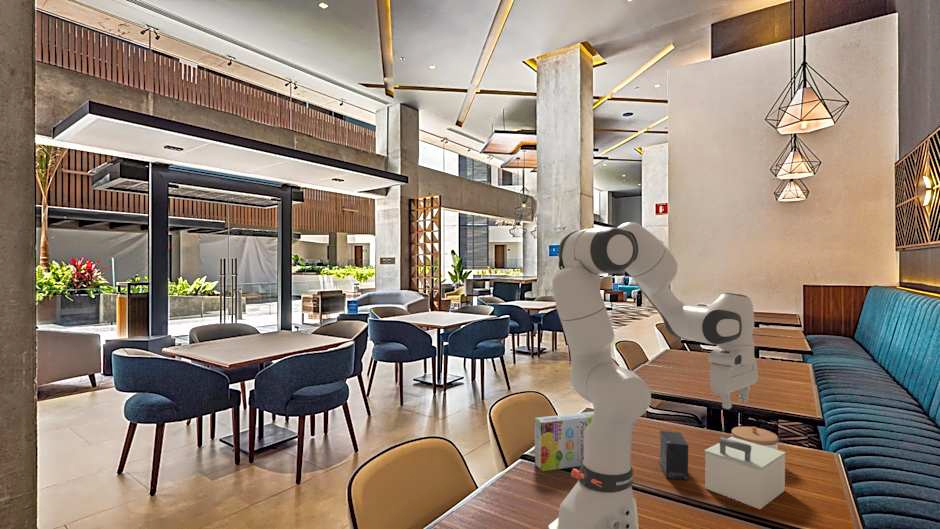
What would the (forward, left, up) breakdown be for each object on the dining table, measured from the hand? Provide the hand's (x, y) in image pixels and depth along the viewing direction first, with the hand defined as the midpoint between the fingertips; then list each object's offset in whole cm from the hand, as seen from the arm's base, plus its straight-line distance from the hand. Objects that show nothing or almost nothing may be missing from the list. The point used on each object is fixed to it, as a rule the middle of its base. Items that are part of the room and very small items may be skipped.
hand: (735, 404), depth 128 cm
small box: (+1, +18, -25) cm, 31 cm away
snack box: (-20, +41, -25) cm, 52 cm away
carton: (+6, 0, -25) cm, 25 cm away
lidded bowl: (+27, +6, -25) cm, 37 cm away
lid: (+6, 0, -15) cm, 16 cm away
